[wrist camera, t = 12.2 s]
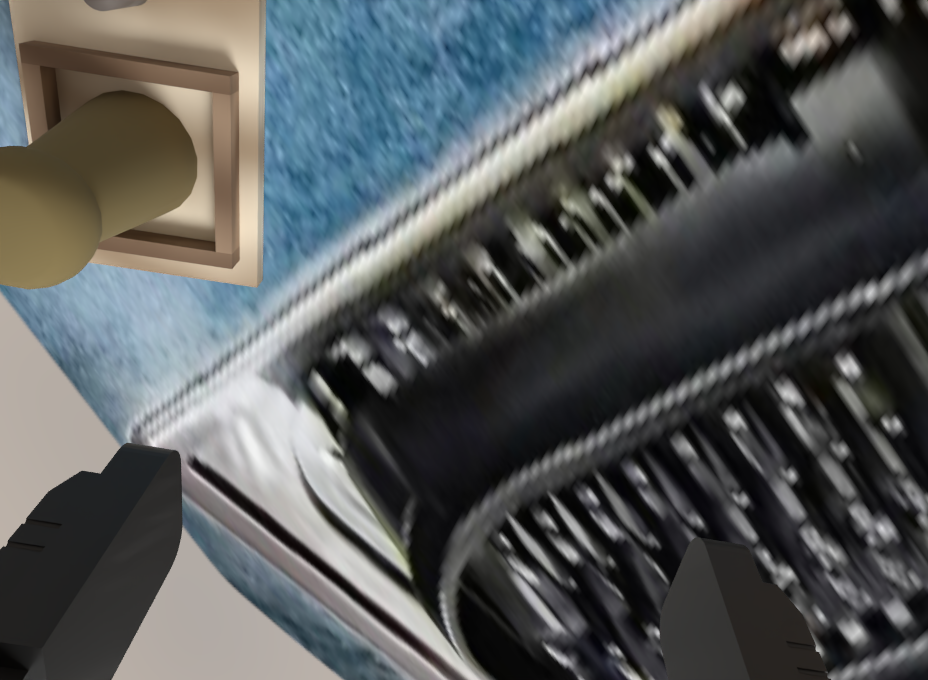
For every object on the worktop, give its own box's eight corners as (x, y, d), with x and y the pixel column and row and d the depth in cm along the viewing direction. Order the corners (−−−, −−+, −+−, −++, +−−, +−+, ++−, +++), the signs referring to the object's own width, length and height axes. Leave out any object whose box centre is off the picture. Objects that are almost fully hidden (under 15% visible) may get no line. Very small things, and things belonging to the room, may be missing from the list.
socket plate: (8, -101, 31) (-55, -107, 28) (266, -60, 31) (236, -61, 28) (55, 248, 39) (10, 279, 35) (262, 279, 39) (238, 312, 36)
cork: (187, 232, 37) (74, 335, 27) (66, 192, 36) (-94, 282, 27) (208, 117, 34) (90, 184, 24) (77, 70, 33) (-97, 121, 24)
